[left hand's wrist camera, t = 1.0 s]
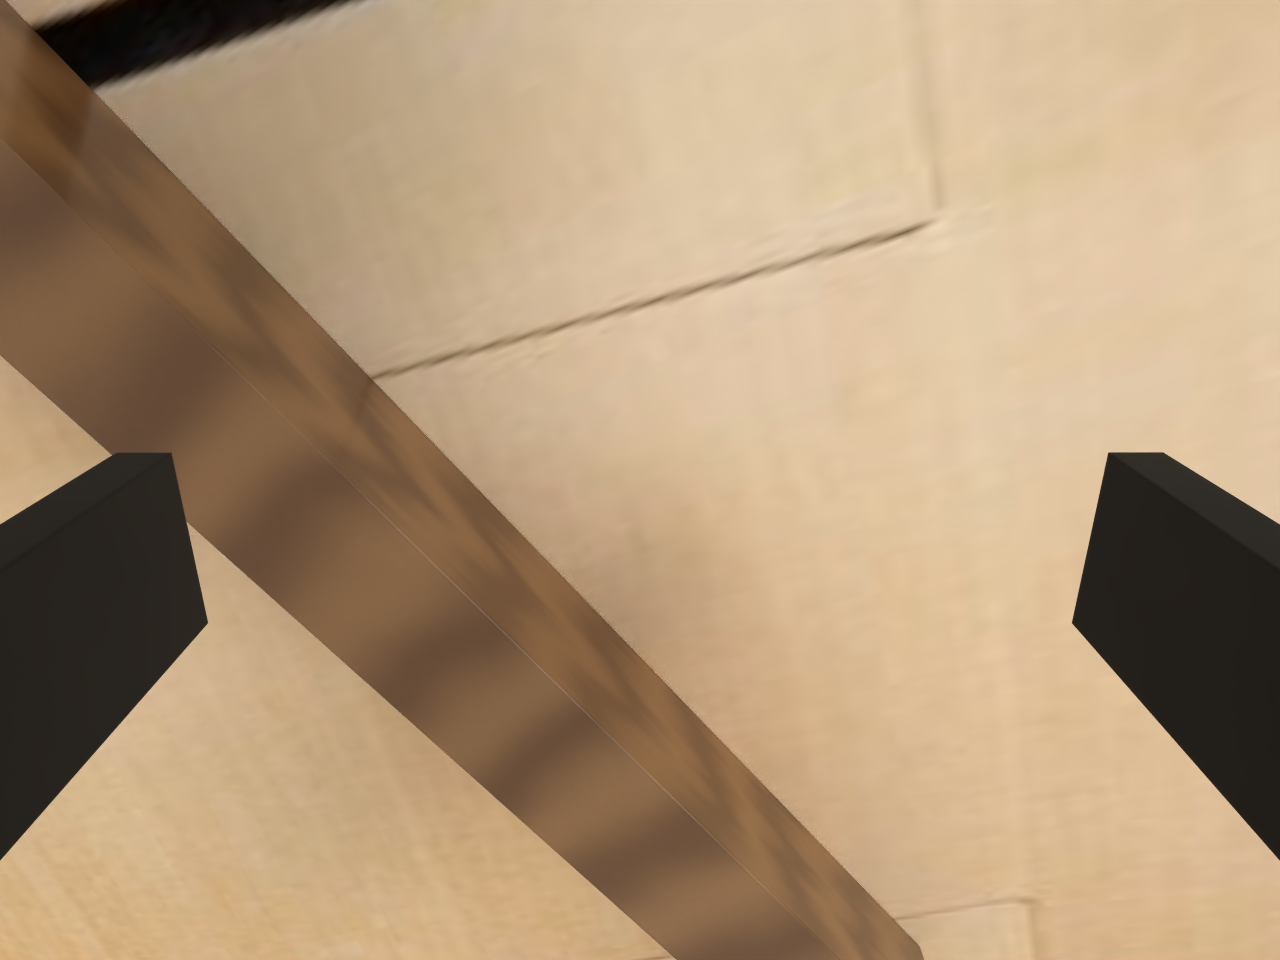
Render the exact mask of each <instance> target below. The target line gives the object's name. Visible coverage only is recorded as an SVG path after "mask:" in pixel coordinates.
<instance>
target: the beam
mask: <svg viewBox="0 0 1280 960" xmlns="http://www.w3.org/2000/svg"><path fill="white" fill-rule="evenodd" d="M0 355H1V356H2V357H3V358H4V359H5V360H6V361H7V362H9V363H10V364H11V365H12V366H13V367H14V368H15V369H16V370H17V371H19V372H20V373H21V374H22V375H23V376H24V377H25V378H26V379H28V380H29V381H30V382H31V383H32V384H33V385H34V386H35V387H37V388H38V389H39V390H40V391H41V392H42V393H43V394H44V395H45V396H47V397H48V398H49V399H50V400H51V401H52V402H53V403H54V404H56V405H57V406H58V407H59V408H60V409H61V410H62V411H63V412H65V413H66V414H67V415H68V416H69V417H70V418H71V419H72V420H73V421H75V422H76V423H77V424H78V425H79V426H80V427H81V428H82V429H84V430H85V431H86V432H87V433H88V434H89V435H90V436H91V437H92V438H94V439H95V440H96V441H97V442H98V443H99V444H100V445H101V446H103V447H104V448H105V449H106V450H107V451H108V452H109V453H110V454H112V455H114V454H115V453H172V457H173V462H174V466H175V471H176V476H177V480H178V485H179V490H180V494H181V499H182V504H183V508H184V513H185V518H186V522H188V523H189V524H190V525H191V526H192V527H193V528H194V529H195V530H197V531H198V532H199V533H200V534H201V535H202V536H203V537H204V538H206V539H207V540H208V541H209V542H210V543H211V544H212V545H213V546H214V547H216V548H217V549H218V550H219V551H220V552H221V553H222V554H223V555H225V556H226V557H227V558H228V559H229V560H230V561H231V562H232V563H233V564H235V565H236V566H237V567H238V568H239V569H240V570H241V571H242V572H244V573H245V574H246V575H247V576H248V577H249V578H250V579H251V580H253V581H254V582H255V583H256V584H257V585H258V586H259V587H260V588H261V589H263V590H264V591H265V592H266V593H267V594H268V595H269V596H270V597H272V598H273V599H274V600H275V601H276V602H277V603H278V604H279V605H281V606H282V607H283V608H284V609H285V610H286V611H287V612H288V613H289V614H291V615H292V616H293V617H294V618H295V619H296V620H297V621H298V622H300V623H301V624H302V625H303V626H304V627H305V628H306V629H307V630H308V631H310V632H311V633H312V634H313V635H314V636H315V637H316V638H317V639H319V640H320V641H321V642H322V643H323V644H324V645H325V646H326V647H328V648H329V649H330V650H331V651H332V652H333V653H334V654H335V655H336V656H338V657H339V658H340V659H341V660H342V661H343V662H344V663H345V664H347V665H348V666H349V667H350V668H351V669H352V670H353V671H354V672H355V673H357V674H358V675H359V676H360V677H361V678H362V679H363V680H364V681H366V682H367V683H368V684H369V685H370V686H371V687H372V688H373V689H375V690H376V691H377V692H378V693H379V694H380V695H381V696H382V697H383V698H385V699H386V700H387V701H388V702H389V703H390V704H391V705H392V706H394V707H395V708H396V709H397V710H398V711H399V712H400V713H401V714H402V715H404V716H405V717H406V718H407V719H408V720H409V721H410V722H411V723H413V724H414V725H415V726H416V727H417V728H418V729H419V730H420V731H422V732H423V733H424V734H425V735H426V736H427V737H428V738H429V739H430V740H432V741H433V742H434V743H435V744H436V745H437V746H438V747H439V748H441V749H442V750H443V751H444V752H445V753H446V754H447V755H448V756H449V757H451V758H452V759H453V760H454V761H455V762H456V763H457V764H458V765H460V766H461V767H462V768H463V769H464V770H465V771H466V772H467V773H469V774H470V775H471V776H472V777H473V778H474V779H475V780H476V781H477V782H479V783H480V784H481V785H482V786H483V787H484V788H485V789H486V790H488V791H489V792H490V793H491V794H492V795H493V796H494V797H495V798H496V799H498V800H499V801H500V802H501V803H502V804H503V805H504V806H505V807H507V808H508V809H509V810H510V811H511V812H512V813H513V814H514V815H516V816H517V817H518V818H519V819H520V820H521V821H522V822H523V823H524V824H526V825H527V826H528V827H529V828H530V829H531V830H532V831H533V832H535V833H536V834H537V835H538V836H539V837H540V838H541V839H542V840H544V841H545V842H546V843H547V844H548V845H549V846H550V847H551V848H552V849H554V850H555V851H556V852H557V853H558V854H559V855H560V856H561V857H563V858H564V859H565V860H566V861H567V862H568V863H569V864H570V865H571V866H573V867H574V868H575V869H576V870H577V871H578V872H579V873H580V874H582V875H583V876H584V877H585V878H586V879H587V880H588V881H589V882H591V883H592V884H593V885H594V886H595V887H596V888H597V889H598V890H599V891H601V892H602V893H603V894H604V895H605V896H606V897H607V898H608V899H610V900H611V901H612V902H613V903H614V904H615V905H616V906H617V907H618V908H620V909H621V910H622V911H623V912H624V913H625V914H626V915H627V916H629V917H630V918H631V919H632V920H633V921H634V922H635V923H636V924H638V925H639V926H640V927H641V928H642V929H643V930H644V931H645V932H646V933H648V934H649V935H650V936H651V937H652V938H653V939H654V940H655V941H657V942H658V943H659V944H660V945H661V946H662V947H663V948H664V949H665V950H667V951H668V952H669V953H670V954H671V955H672V956H673V957H674V958H676V959H677V960H924V958H923V955H922V952H921V949H920V947H919V946H918V945H917V944H916V942H915V941H914V940H913V939H912V938H911V937H910V936H909V935H908V934H907V933H906V932H905V931H904V930H903V929H902V928H901V927H900V926H899V925H898V924H897V923H896V922H895V921H894V920H893V919H892V918H891V917H890V916H889V915H888V913H887V912H886V911H885V910H884V909H883V908H882V907H881V906H880V905H879V904H878V903H877V902H876V901H875V900H874V899H873V898H872V897H871V896H870V895H869V894H868V893H867V892H866V891H865V890H864V889H863V888H862V887H861V886H860V885H859V883H858V882H857V881H856V880H855V879H854V878H853V877H852V876H851V875H850V874H849V873H848V872H847V871H846V870H845V869H844V868H843V867H842V866H841V865H840V864H839V863H838V862H837V861H836V860H835V859H834V858H833V857H832V856H831V855H830V853H829V852H828V851H827V850H826V849H825V848H824V847H823V846H822V845H821V844H820V843H819V842H818V841H817V840H816V839H815V838H814V837H813V836H812V835H811V834H810V833H809V832H808V831H807V830H806V829H805V828H804V827H803V826H802V824H801V823H800V822H799V821H798V820H797V819H796V818H795V817H794V816H793V815H792V814H791V813H790V812H789V811H788V810H787V809H786V808H785V807H784V806H783V805H782V804H781V803H780V802H779V801H778V800H777V799H776V798H775V797H774V796H773V794H772V793H771V792H770V791H769V790H768V789H767V788H766V787H765V786H764V785H763V784H762V783H761V782H760V781H759V780H758V779H757V778H756V777H755V776H754V775H753V774H752V773H751V772H750V771H749V770H748V769H747V768H746V767H745V766H744V764H743V763H742V762H741V761H740V760H739V759H738V758H737V757H736V756H735V755H734V754H733V753H732V752H731V751H730V750H729V749H728V748H727V747H726V746H725V745H724V744H723V743H722V742H721V741H720V740H719V739H718V738H717V737H716V735H715V734H714V733H713V732H712V731H711V730H710V729H709V728H708V727H707V726H706V725H705V724H704V723H703V722H702V721H701V720H700V719H699V718H698V717H697V716H696V715H695V714H694V713H693V712H692V711H691V710H690V709H689V708H688V707H687V705H686V704H685V703H684V702H683V701H682V700H681V699H680V698H679V697H678V696H677V695H676V694H675V693H674V692H673V691H672V690H671V689H670V688H669V687H668V686H667V685H666V684H665V683H664V682H663V681H662V680H661V679H660V678H659V677H658V675H657V674H656V673H655V672H654V671H653V670H652V669H651V668H650V667H649V666H648V665H647V664H646V663H645V662H644V661H643V660H642V659H641V658H640V657H639V656H638V655H637V654H636V653H635V652H634V651H633V650H632V649H631V648H630V647H629V645H628V644H627V643H626V642H625V641H624V640H623V639H622V638H621V637H620V636H619V635H618V634H617V633H616V632H615V631H614V630H613V629H612V628H611V627H610V626H609V625H608V624H607V623H606V622H605V621H604V620H603V619H602V618H601V616H600V615H599V614H598V613H597V612H596V611H595V610H594V609H593V608H592V607H591V606H590V605H589V604H588V603H587V602H586V601H585V600H584V599H583V598H582V597H581V596H580V595H579V594H578V593H577V592H576V591H575V590H574V589H573V588H572V586H571V585H570V584H569V583H568V582H567V581H566V580H565V579H564V578H563V577H562V576H561V575H560V574H559V573H558V572H557V571H556V570H555V569H554V568H553V567H552V566H551V565H550V564H549V563H548V562H547V561H546V560H545V559H544V558H543V556H542V555H541V554H540V553H539V552H538V551H537V550H536V549H535V548H534V547H533V546H532V545H531V544H530V543H529V542H528V541H527V540H526V539H525V538H524V537H523V536H522V535H521V534H520V533H519V532H518V531H517V530H516V529H515V527H514V526H513V525H512V524H511V523H510V522H509V521H508V520H507V519H506V518H505V517H504V516H503V515H502V514H501V513H500V512H499V511H498V510H497V509H496V508H495V507H494V506H493V505H492V504H491V503H490V502H489V501H488V500H487V499H486V497H485V496H484V495H483V494H482V493H481V492H480V491H479V490H478V489H477V488H476V487H475V486H474V485H473V484H472V483H471V482H470V481H469V480H468V479H467V478H466V477H465V476H464V475H463V474H462V473H461V472H460V471H459V470H458V469H457V467H456V466H455V465H454V464H453V463H452V462H451V461H450V460H449V459H448V458H447V457H446V456H445V455H444V454H443V453H442V452H441V451H440V450H439V449H438V448H437V447H436V446H435V445H434V444H433V443H432V442H431V441H430V440H429V438H428V437H427V436H426V435H425V434H424V433H423V432H422V431H421V430H420V429H419V428H418V427H417V426H416V425H415V424H414V423H413V422H412V421H411V420H410V419H409V418H408V417H407V416H406V415H405V414H404V413H403V412H402V411H401V410H400V408H399V407H398V406H397V405H396V404H395V403H394V402H393V401H392V400H391V399H390V398H389V397H388V396H387V395H386V394H385V393H384V392H383V391H382V390H381V389H380V388H379V387H378V386H377V385H376V384H375V383H374V382H373V381H372V380H371V378H370V377H369V376H368V375H367V374H366V373H365V372H364V371H363V370H362V369H361V368H360V367H359V366H358V365H357V364H356V363H355V362H354V361H353V360H352V359H351V358H350V357H349V356H348V355H347V354H346V353H345V352H344V351H343V349H342V348H341V347H340V346H339V345H338V344H337V343H336V342H335V341H334V340H333V339H332V338H331V337H330V336H329V335H328V334H327V333H326V332H325V331H324V330H323V329H322V328H321V327H320V326H319V325H318V324H317V323H316V322H315V321H314V319H313V318H312V317H311V316H310V315H309V314H308V313H307V312H306V311H305V310H304V309H303V308H302V307H301V306H300V305H299V304H298V303H297V302H296V301H295V300H294V299H293V298H292V297H291V296H290V295H289V294H288V293H287V292H286V291H285V289H284V288H283V287H282V286H281V285H280V284H279V283H278V282H277V281H276V280H275V279H274V278H273V277H272V276H271V275H270V274H269V273H268V272H267V271H266V270H265V269H264V268H263V267H262V266H261V265H260V264H259V263H258V262H257V261H256V259H255V258H254V257H253V256H252V255H251V254H250V253H249V252H248V251H247V250H246V249H245V248H244V247H243V246H242V245H241V244H240V243H239V242H238V241H237V240H236V239H235V238H234V237H233V236H232V235H231V234H230V233H229V232H228V230H227V229H226V228H225V227H224V226H223V225H222V224H221V223H220V222H219V221H218V220H217V219H216V218H215V217H214V216H213V215H212V214H211V213H210V212H209V211H208V210H207V209H206V208H205V207H204V206H203V205H202V204H201V203H200V202H199V200H198V199H197V198H196V197H195V196H194V195H193V194H192V193H191V192H190V191H189V190H188V189H187V188H186V187H185V186H184V185H183V184H182V183H181V182H180V181H179V180H178V179H177V178H176V177H175V176H174V175H173V174H172V173H171V172H170V170H169V169H168V168H167V167H166V166H165V165H164V164H163V163H162V162H161V161H160V160H159V159H158V158H157V157H156V156H155V155H154V154H153V153H152V152H151V151H150V150H149V149H148V148H147V147H146V146H145V145H144V144H143V143H142V141H141V140H140V139H139V138H138V137H137V136H136V135H135V134H134V133H133V132H132V131H131V130H130V129H129V128H128V127H127V126H126V125H125V124H124V123H123V122H122V121H121V120H120V119H119V118H118V117H117V116H116V115H115V114H114V113H113V111H112V110H111V109H110V108H109V107H108V106H107V105H106V104H105V103H104V102H103V101H102V100H101V99H100V98H99V97H98V96H97V95H96V94H95V93H94V92H93V91H92V90H91V89H90V88H89V87H88V86H87V85H86V84H85V83H84V81H83V80H82V79H81V78H80V77H79V76H78V75H77V74H76V73H75V72H74V71H73V70H72V69H71V68H70V67H69V66H68V65H67V64H66V63H65V62H64V61H63V60H62V59H61V58H60V57H59V56H58V55H57V54H56V52H55V51H54V50H53V49H52V48H51V47H50V46H49V45H48V44H47V43H46V42H45V41H44V40H43V39H42V38H41V37H40V36H39V35H38V34H37V33H36V32H35V31H34V30H33V29H32V28H31V27H30V26H29V25H28V24H27V22H26V21H25V20H24V19H23V18H22V17H21V16H20V15H19V14H18V13H17V12H16V11H15V10H14V9H13V8H12V7H11V6H10V5H9V4H8V3H7V2H6V1H5V0H0Z"/></svg>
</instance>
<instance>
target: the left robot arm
mask: <svg viewBox="0 0 1280 960" xmlns="http://www.w3.org/2000/svg"><path fill="white" fill-rule="evenodd" d="M207 624H208V621H207V616H206V611H205V607H204V602H203V597H202V592H201V588H200V583H199V578H198V574H197V569H196V564H195V560H194V555H193V550H192V546H191V541H190V536H189V532H188V527H187V522H186V518H185V513H184V508H183V504H182V499H181V494H180V490H179V485H178V480H177V476H176V471H175V466H174V462H173V457H172V453H115V454H114V455H112V456H110V457H109V458H107V459H106V460H104V461H102V462H101V463H99V464H97V465H96V466H94V467H93V468H91V469H89V470H88V471H86V472H85V473H83V474H81V475H80V476H78V477H76V478H75V479H73V480H72V481H70V482H68V483H67V484H65V485H63V486H62V487H60V488H59V489H57V490H55V491H54V492H52V493H51V494H49V495H47V496H46V497H44V498H42V499H41V500H39V501H38V502H36V503H34V504H33V505H31V506H29V507H28V508H26V509H25V510H23V511H21V512H20V513H18V514H16V515H15V516H13V517H12V518H10V519H8V520H7V521H5V522H4V523H2V524H0V860H1V859H2V858H3V857H4V856H5V854H6V853H7V852H8V851H9V850H10V849H11V848H12V846H13V845H14V844H15V843H16V842H17V841H18V840H19V838H20V837H21V836H22V835H23V834H24V833H25V832H26V830H27V829H28V828H29V827H30V826H31V825H32V824H33V822H34V821H35V820H36V819H37V818H38V817H39V816H40V814H41V813H42V812H43V811H44V810H45V809H46V808H47V806H48V805H49V804H50V803H51V802H52V801H53V800H54V798H55V797H56V796H57V795H58V794H59V793H60V792H61V790H62V789H63V788H64V787H65V786H66V785H67V784H68V782H69V781H70V780H71V779H72V778H73V777H74V776H75V774H76V773H77V772H78V771H79V770H80V769H81V768H82V766H83V765H84V764H85V763H86V762H87V761H88V760H89V758H90V757H91V756H92V755H93V754H94V753H95V752H96V750H97V749H98V748H99V747H100V746H101V745H102V744H103V742H104V741H105V740H106V739H107V738H108V737H109V736H110V734H111V733H112V732H113V731H114V730H115V729H116V728H117V726H118V725H119V724H120V723H121V722H122V721H123V720H124V718H125V717H126V716H127V715H128V714H129V713H130V712H131V710H132V709H133V708H134V707H135V706H136V705H137V704H138V702H139V701H140V700H141V699H142V698H143V697H144V696H145V694H146V693H147V692H148V691H149V690H150V689H151V688H152V686H153V685H154V684H155V683H156V682H157V681H158V680H159V678H160V677H161V676H162V675H163V674H164V673H165V672H166V670H167V669H168V668H169V667H170V666H171V665H172V664H173V662H174V661H175V660H176V659H177V658H178V657H179V656H180V654H181V653H182V652H183V651H184V650H185V649H186V648H187V646H188V645H189V644H190V643H191V642H192V641H193V640H194V638H195V637H196V636H197V635H198V634H199V633H200V632H201V630H202V629H203V628H204V627H205V626H206V625H207ZM1072 624H1073V625H1074V626H1075V627H1076V628H1077V629H1078V630H1079V632H1080V633H1081V634H1082V635H1083V636H1084V637H1085V638H1086V640H1087V641H1088V642H1089V643H1090V644H1091V645H1092V646H1093V648H1094V649H1095V650H1096V651H1097V652H1098V653H1099V654H1100V656H1101V657H1102V658H1103V659H1104V660H1105V661H1106V662H1107V664H1108V665H1109V666H1110V667H1111V668H1112V669H1113V670H1114V672H1115V673H1116V674H1117V675H1118V676H1119V677H1120V678H1121V680H1122V681H1123V682H1124V683H1125V684H1126V685H1127V686H1128V688H1129V689H1130V690H1131V691H1132V692H1133V693H1134V694H1135V696H1136V697H1137V698H1138V699H1139V700H1140V701H1141V702H1142V704H1143V705H1144V706H1145V707H1146V708H1147V709H1148V710H1149V712H1150V713H1151V714H1152V715H1153V716H1154V717H1155V718H1156V720H1157V721H1158V722H1159V723H1160V724H1161V725H1162V726H1163V728H1164V729H1165V730H1166V731H1167V732H1168V733H1169V734H1170V736H1171V737H1172V738H1173V739H1174V740H1175V741H1176V742H1177V744H1178V745H1179V746H1180V747H1181V748H1182V749H1183V750H1184V752H1185V753H1186V754H1187V755H1188V756H1189V757H1190V758H1191V760H1192V761H1193V762H1194V763H1195V764H1196V765H1197V766H1198V768H1199V769H1200V770H1201V771H1202V772H1203V773H1204V774H1205V776H1206V777H1207V778H1208V779H1209V780H1210V781H1211V782H1212V784H1213V785H1214V786H1215V787H1216V788H1217V789H1218V790H1219V792H1220V793H1221V794H1222V795H1223V796H1224V797H1225V798H1226V800H1227V801H1228V802H1229V803H1230V804H1231V805H1232V806H1233V808H1234V809H1235V810H1236V811H1237V812H1238V813H1239V814H1240V816H1241V817H1242V818H1243V819H1244V820H1245V821H1246V822H1247V824H1248V825H1249V826H1250V827H1251V828H1252V829H1253V830H1254V832H1255V833H1256V834H1257V835H1258V836H1259V837H1260V838H1261V840H1262V841H1263V842H1264V843H1265V844H1266V845H1267V846H1268V848H1269V849H1270V850H1271V851H1272V852H1273V853H1274V854H1275V856H1276V857H1277V858H1278V859H1279V860H1280V524H1278V523H1276V522H1275V521H1273V520H1272V519H1270V518H1268V517H1267V516H1265V515H1264V514H1262V513H1260V512H1259V511H1257V510H1255V509H1254V508H1252V507H1251V506H1249V505H1247V504H1246V503H1244V502H1242V501H1241V500H1239V499H1238V498H1236V497H1234V496H1233V495H1231V494H1229V493H1228V492H1226V491H1225V490H1223V489H1221V488H1220V487H1218V486H1217V485H1215V484H1213V483H1212V482H1210V481H1208V480H1207V479H1205V478H1204V477H1202V476H1200V475H1199V474H1197V473H1195V472H1194V471H1192V470H1191V469H1189V468H1187V467H1186V466H1184V465H1183V464H1181V463H1179V462H1178V461H1176V460H1174V459H1173V458H1171V457H1170V456H1168V455H1166V454H1165V453H1108V457H1107V462H1106V466H1105V471H1104V476H1103V480H1102V485H1101V490H1100V494H1099V499H1098V504H1097V508H1096V513H1095V518H1094V522H1093V527H1092V532H1091V536H1090V541H1089V546H1088V550H1087V555H1086V560H1085V564H1084V569H1083V574H1082V578H1081V583H1080V588H1079V592H1078V597H1077V602H1076V606H1075V611H1074V616H1073V621H1072Z"/></svg>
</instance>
